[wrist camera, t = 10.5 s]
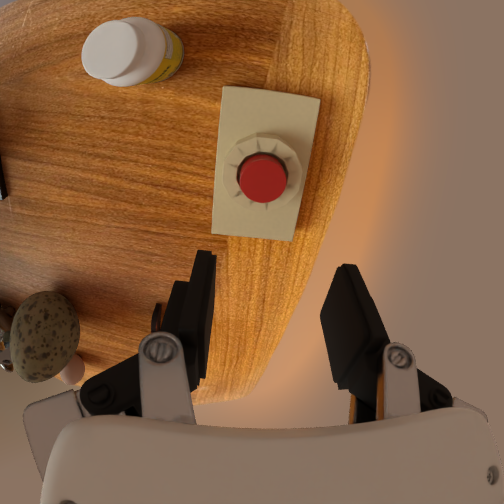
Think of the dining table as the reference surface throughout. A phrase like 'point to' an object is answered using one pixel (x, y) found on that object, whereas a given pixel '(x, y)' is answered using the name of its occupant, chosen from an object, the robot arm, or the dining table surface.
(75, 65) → the dining table surface
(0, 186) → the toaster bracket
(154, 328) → the knife
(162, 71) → the supplement bottle
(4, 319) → the piggy bank
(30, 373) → the decorative egg
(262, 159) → the button
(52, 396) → the robot arm
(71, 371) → the egg
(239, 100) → the power block
